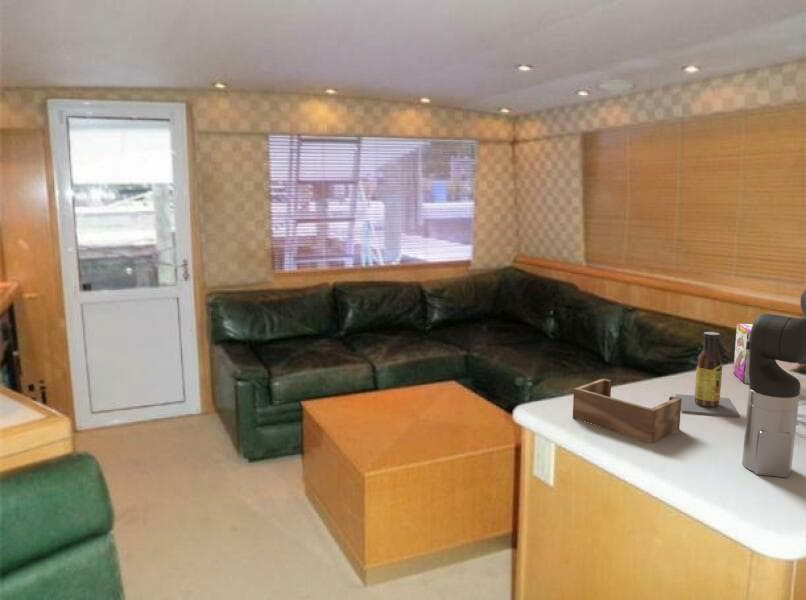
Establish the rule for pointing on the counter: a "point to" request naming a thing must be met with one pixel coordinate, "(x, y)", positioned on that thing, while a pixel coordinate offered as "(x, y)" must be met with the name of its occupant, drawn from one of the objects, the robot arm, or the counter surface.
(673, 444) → the counter surface
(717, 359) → the sauce bottle
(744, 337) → the candy bar box
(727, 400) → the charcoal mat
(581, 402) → the walnut crate
